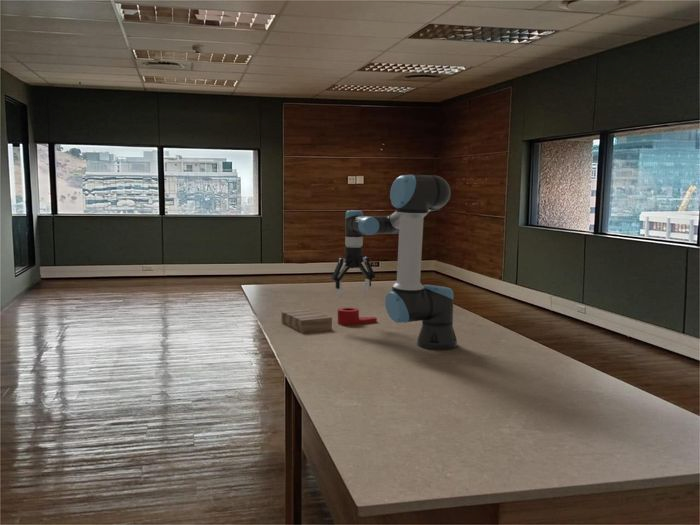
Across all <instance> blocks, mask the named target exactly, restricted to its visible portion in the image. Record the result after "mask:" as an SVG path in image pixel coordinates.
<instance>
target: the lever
mask: <svg viewBox="0 0 700 525" xmlns="http://www.w3.org/2000/svg"><path fill="white" fill-rule="evenodd" d="M377 319H378V317H376V316H361V317H360V309H359V308H357V307H340V308H338V309H337V324H338V325H339V326H340V325H341V326H357V325H358V326H359V325H367V324H376V323H378V322H377V321H378V320H377Z"/></svg>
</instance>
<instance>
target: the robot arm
mask: <svg viewBox="0 0 700 525" xmlns="http://www.w3.org/2000/svg"><path fill="white" fill-rule="evenodd" d="M389 198H390V199H389V200H390V201H391V202H390V204H391V205H392V207H394V208H395V211H394V212H393V213H391V214H389V215H370V216H369V215H367V216H366V215H364V213H363V210H347V211H346V212H345V218H344V219H345V220H344V223H345V225H344V226H345V230H344V231H345V232H344V233H345V237H344V238H345V239H344V240H345V243H344V244H345V247H344V255H345V257H344V258H341V257H338V260H337V265H336V267H335V268H334V271H333V274H332V276H331V277H330V278H331V280H332V281H334V282H335V289H336V290H337V291H336V294H337V295H336V297H340V298H341V297H342V295H343V294H342V290H343V288H342V287H343V286H342V285H343V284H342V283H343V282H342V279H343V278H344V276H345V274H346V273H347V272H348V270H350V269H354V268H355V269H359V270H360V271H361V273H362V274H363V275H364V277H365V279H364V294H365V295H370V287H371V286H372V280H373V279H374V278H376V274H375V272H374V270H373V267H372V265H371V263H370V257H369V256H364V257H363V251H364V249H363V247H362V246H363V245H364V244H363V242H364V235H365V236H373V235H386V234H387V235H388V234H393V235H396V234H397V235H398V246H397V250H398V251H397V269H396V281H395V282H394V283H393V284H392V287H391V291H389V292H387V294H386V295H385V298H384V300H385V301H384V303H385V304H384V305H385V309H386V313H387V314H388V317H389V318H390V319H391V321H393V322H395V323H397V324H398V323H404V324H408V323H411V322H412V323H413V322H421V321H422V322H421V328H420V330H419V333H418V337H417V340H416V343H417V344H416V345H417V347H419V348H421V349H425V350H432V351H434V350H435V351H446V349H449V350H453V349H452V348H454V349H456V348H457V347H456V346H458V340H457V336H456V333H455V329H454V326H453V325H454V323H453V322H454V301H455V299H454V290H453V289H452V288H451V287H447V286H440V285H436V284H435V285H432V284H422V283H421V270H422V253H423V252H422V250H423V235H424V218H425V217H426V216H427V215H428V214H429V213H430V212H435V211H438V210H440V209H441V208H443V207H444V206H446V205H447V203H448V202H449V200H450V199H451V187H450V185H449V183H448V182H447V180H446V179H444V178H443V177H441V176H439V175H429V174H428V175H423V174H404V175H402V174H401V175H399V176H398V177H396V179H395V180H394V181H393V182H392V185H391V187H390V193H389ZM344 263H345V264H344ZM362 263H364V265H363V264H362ZM343 264H344V265H343ZM365 267H366V268H365ZM455 347H456V348H455Z"/></svg>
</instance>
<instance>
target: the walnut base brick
mask: <svg viewBox="0 0 700 525" xmlns="http://www.w3.org/2000/svg"><path fill="white" fill-rule="evenodd" d="M281 324H283V325H285V326H288V327H290V328H291V329H293V328H294V329H293V330H295V329H296V330H295V331H297V330H298V331H297V332H299V331H300V332H299V333H301V332H304V333H311V332H310V331H314V332H323V330H324V331H331V330H333V317H332V316H329V315H327V314H324V313H323V312H319V311H316V310H315V309H312V308H307V309H295V310H285V311H284V310H283V311H281Z"/></svg>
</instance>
